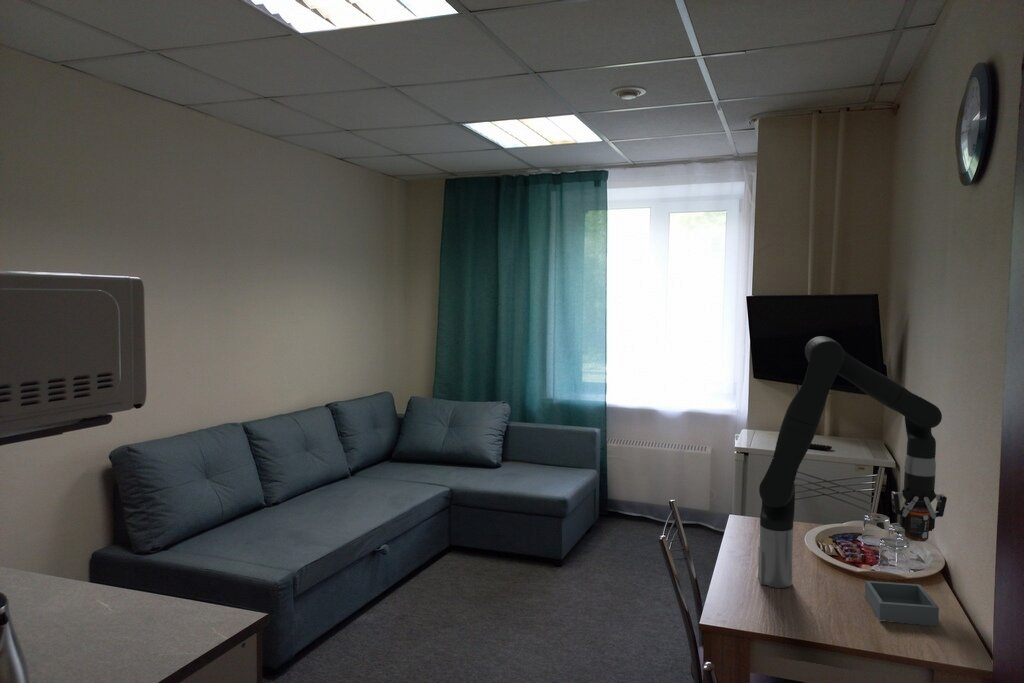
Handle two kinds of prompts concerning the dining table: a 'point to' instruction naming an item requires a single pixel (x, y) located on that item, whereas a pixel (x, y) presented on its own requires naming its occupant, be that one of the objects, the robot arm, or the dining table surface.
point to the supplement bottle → (918, 522)
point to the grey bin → (901, 603)
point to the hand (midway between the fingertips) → (916, 529)
